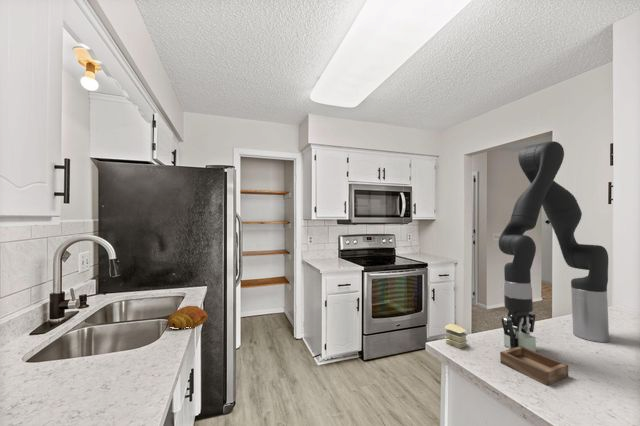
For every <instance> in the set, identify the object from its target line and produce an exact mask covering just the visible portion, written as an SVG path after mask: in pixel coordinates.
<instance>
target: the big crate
mask: <svg viewBox="0 0 640 426" xmlns="http://www.w3.org/2000/svg"><path fill="white" fill-rule="evenodd" d="M499 354H500V364H502V365H505V366H506V367H509V368H510V369H512V370H515V371H516V372H518V373H520V374H522V375H525V376H527V377H528V378H531V379H533V380H535V381H538V382H539V383H541V384H543V385H545V386H549V385H552V384H554V383H556V382H559V381H561V380H564V379H567V378H569V365H568V364H567V363H565V362H562V361H560V360H556V359H555V358H552V357H549V356H547V355H544V354H542V353H540V352H537V351H536V352H535V351H532V350H530V349H527V348H525V347H522V346H519V347H516V348H512V349H510V348H508V349H505V350H502V351H500V352H499Z"/></svg>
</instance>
